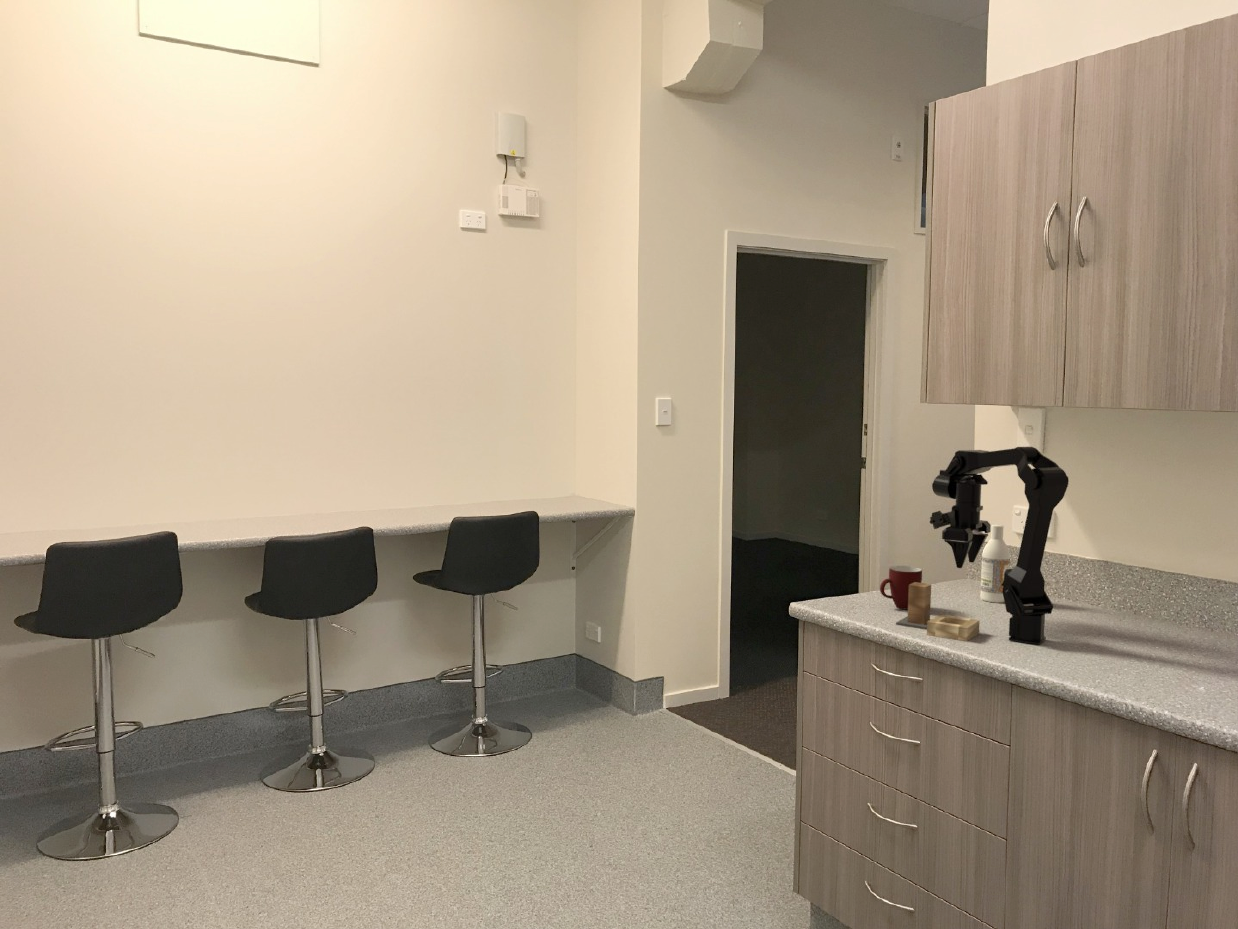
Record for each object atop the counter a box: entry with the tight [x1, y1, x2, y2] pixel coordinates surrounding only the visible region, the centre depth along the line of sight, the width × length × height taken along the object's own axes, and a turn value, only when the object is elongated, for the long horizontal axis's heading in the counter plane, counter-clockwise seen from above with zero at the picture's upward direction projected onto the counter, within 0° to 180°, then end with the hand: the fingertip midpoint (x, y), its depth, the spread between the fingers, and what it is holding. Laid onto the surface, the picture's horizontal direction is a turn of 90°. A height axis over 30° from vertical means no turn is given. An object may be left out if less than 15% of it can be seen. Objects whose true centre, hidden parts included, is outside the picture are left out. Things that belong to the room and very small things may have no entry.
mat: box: [895, 615, 931, 630], centre depth 234 cm, size 8×8×1 cm
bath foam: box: [979, 524, 1011, 604], centre depth 258 cm, size 7×7×20 cm
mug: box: [879, 565, 923, 610], centre depth 250 cm, size 11×8×10 cm
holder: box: [926, 614, 980, 642], centre depth 225 cm, size 9×9×3 cm
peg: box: [907, 582, 932, 625], centre depth 234 cm, size 4×4×9 cm
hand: (965, 565), depth 239 cm, fingers open, 9 cm apart
